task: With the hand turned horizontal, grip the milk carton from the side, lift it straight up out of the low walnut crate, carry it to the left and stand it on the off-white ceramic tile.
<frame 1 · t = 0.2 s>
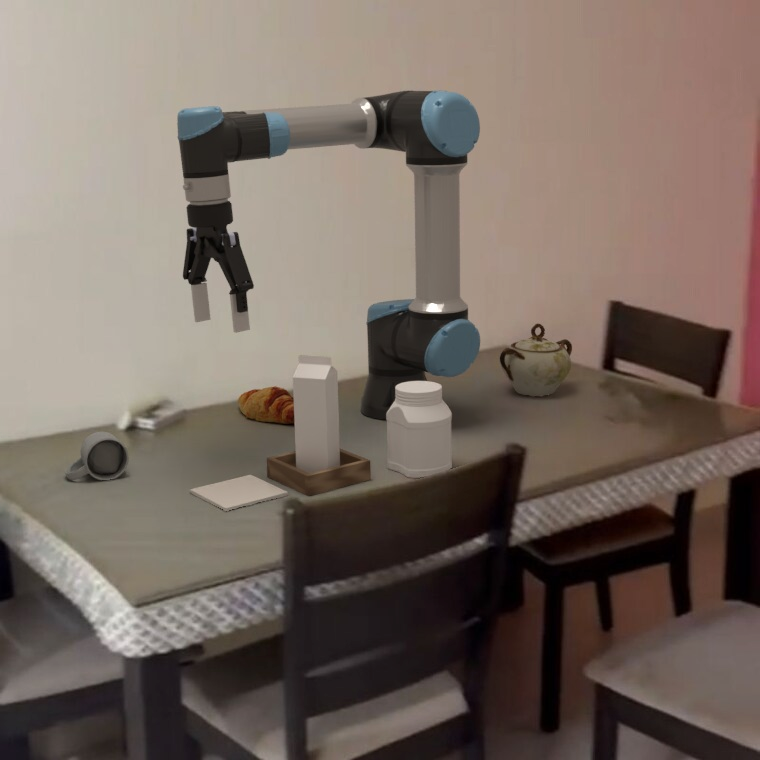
hand: (221, 325, 214), 27 cm above the table, tool pointing down, fingers open, 13 cm apart
tile: (238, 494, 211), on the table
sugar bowl: (535, 392, 272), on the table
crate: (318, 478, 218), on the table
ceramic mug: (97, 477, 223), on the table
croissant: (271, 417, 257), on the table
jar: (419, 469, 223), on the table
milk: (318, 479, 219), resting in crate
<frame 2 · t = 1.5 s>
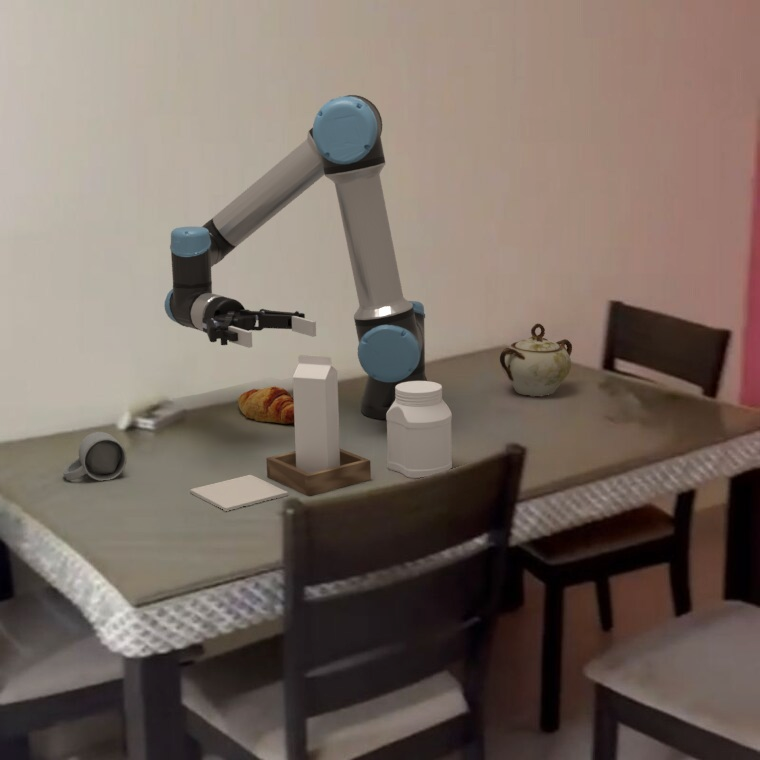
hand: (283, 334, 220), 24 cm above the table, tool horizontal, fingers open, 13 cm apart
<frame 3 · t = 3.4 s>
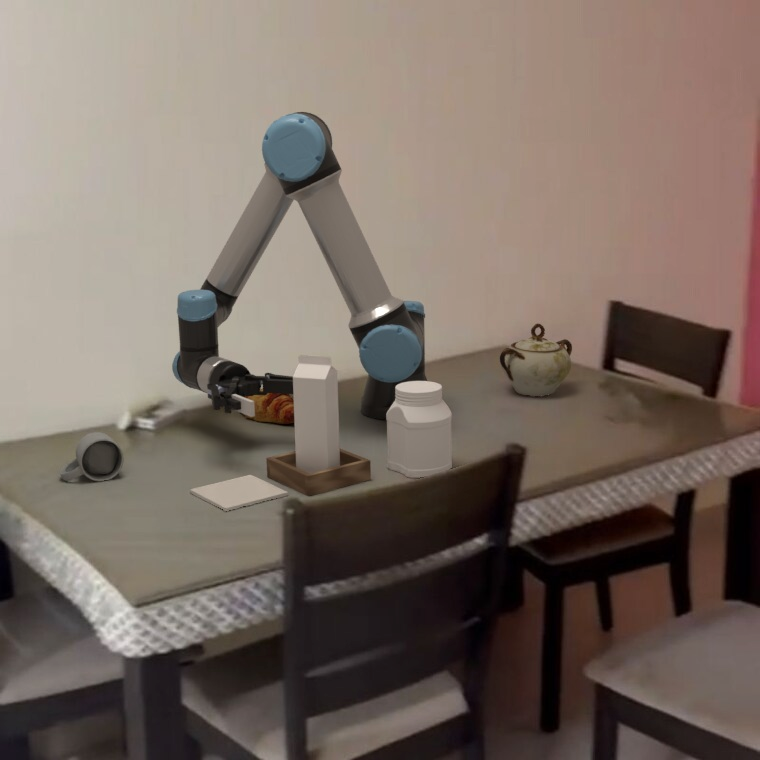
hand: (285, 402, 222), 12 cm above the table, tool horizontal, fingers open, 13 cm apart
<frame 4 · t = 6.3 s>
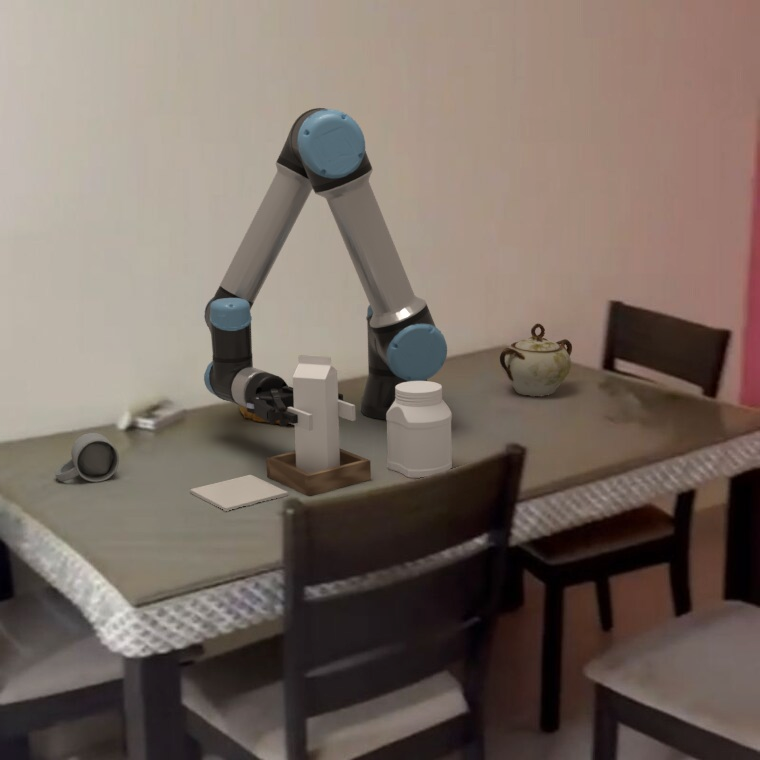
hand: (332, 417, 212), 12 cm above the table, tool horizontal, fingers closed on milk, 8 cm apart
milk: (318, 479, 219), resting in crate, touching gripper
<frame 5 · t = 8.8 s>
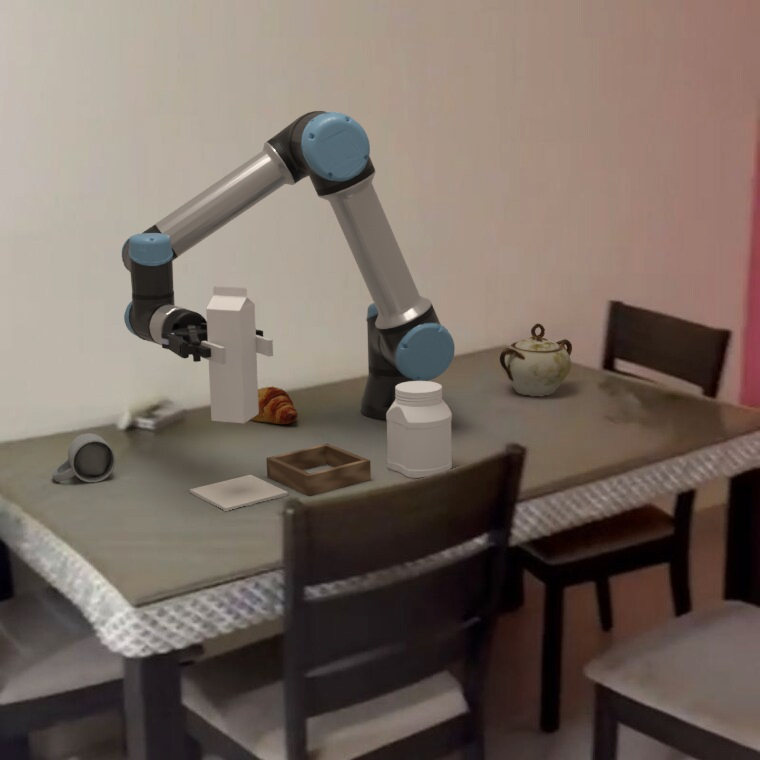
hand: (247, 352, 202), 25 cm above the table, tool horizontal, fingers closed on milk, 8 cm apart
milk: (235, 418, 208), point 13 cm above the table, touching gripper
when the fingers open (13 cm above the table, at t = 11.5 s): milk stays where it is, resting on tile.
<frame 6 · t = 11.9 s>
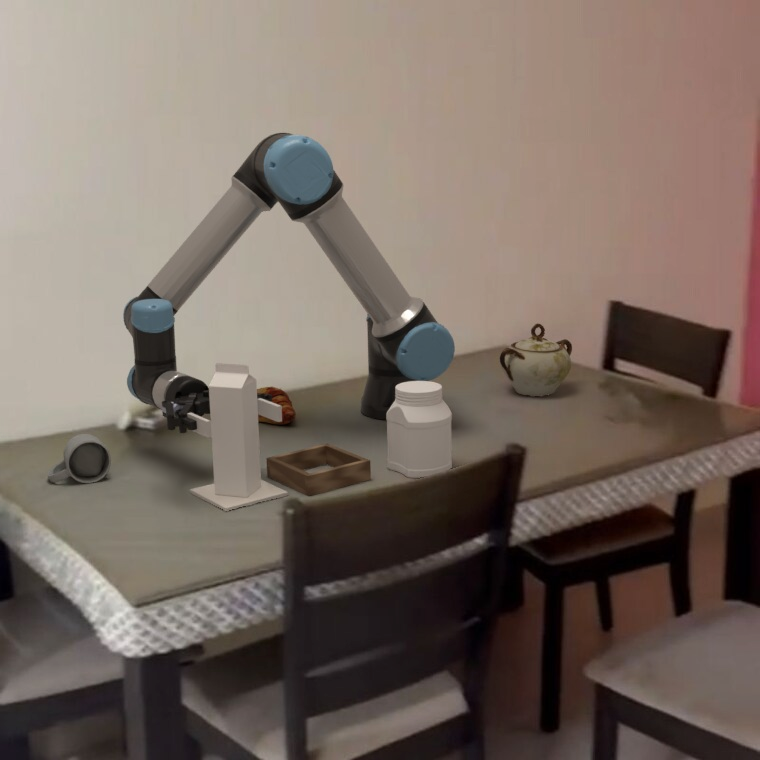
hand: (245, 421, 205), 13 cm above the table, tool horizontal, fingers open, 13 cm apart
milk: (238, 491, 211), resting on tile
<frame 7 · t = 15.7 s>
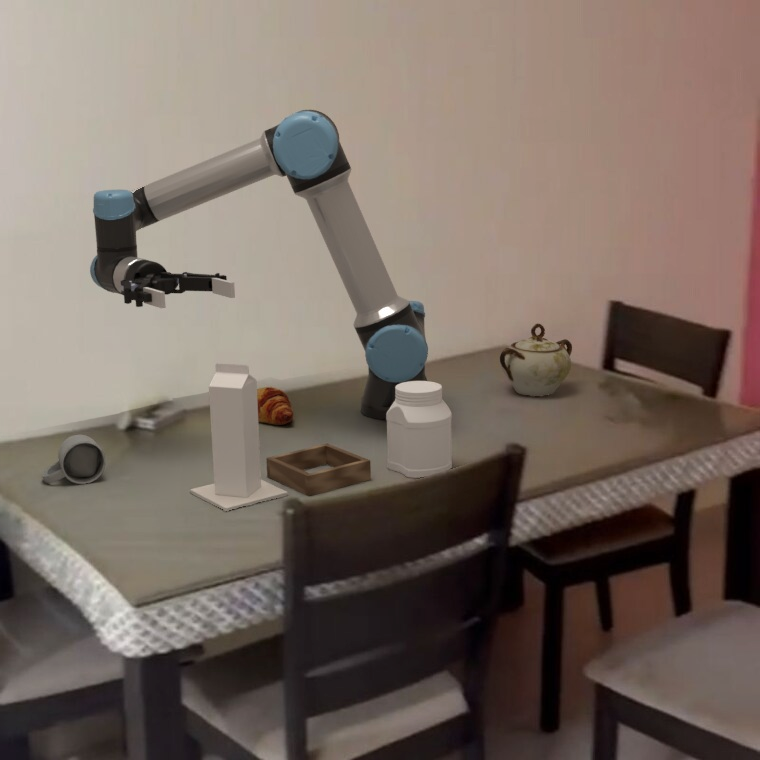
hand: (198, 295, 215), 32 cm above the table, tool horizontal, fingers open, 13 cm apart
at the end: milk inside the target area on the tile (0.1 cm from its centre), point 0.4 cm above the tile's base; milk tilted 0°; the gripper is holding nothing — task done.
